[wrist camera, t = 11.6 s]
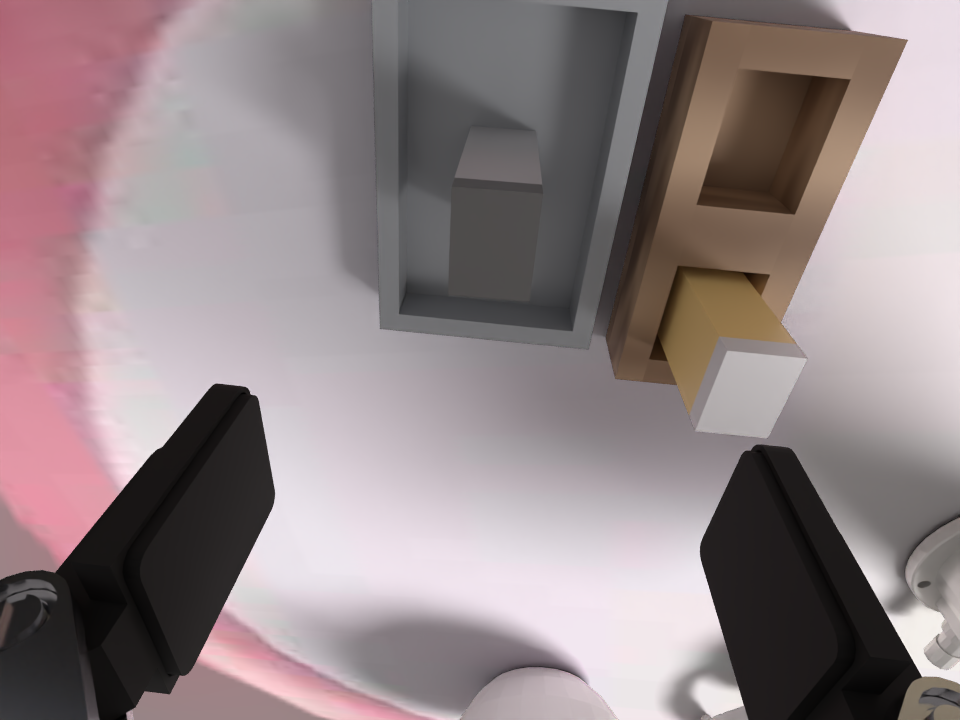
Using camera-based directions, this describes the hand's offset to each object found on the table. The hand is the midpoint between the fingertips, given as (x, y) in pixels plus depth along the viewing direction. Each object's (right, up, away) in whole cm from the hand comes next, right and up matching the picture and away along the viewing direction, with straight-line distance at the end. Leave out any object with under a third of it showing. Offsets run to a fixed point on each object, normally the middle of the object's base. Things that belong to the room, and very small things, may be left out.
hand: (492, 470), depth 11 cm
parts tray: (+1, +11, +16) cm, 20 cm away
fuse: (+11, +6, +18) cm, 22 cm away
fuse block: (+11, +10, +17) cm, 22 cm away
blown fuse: (+1, +11, +16) cm, 19 cm away
